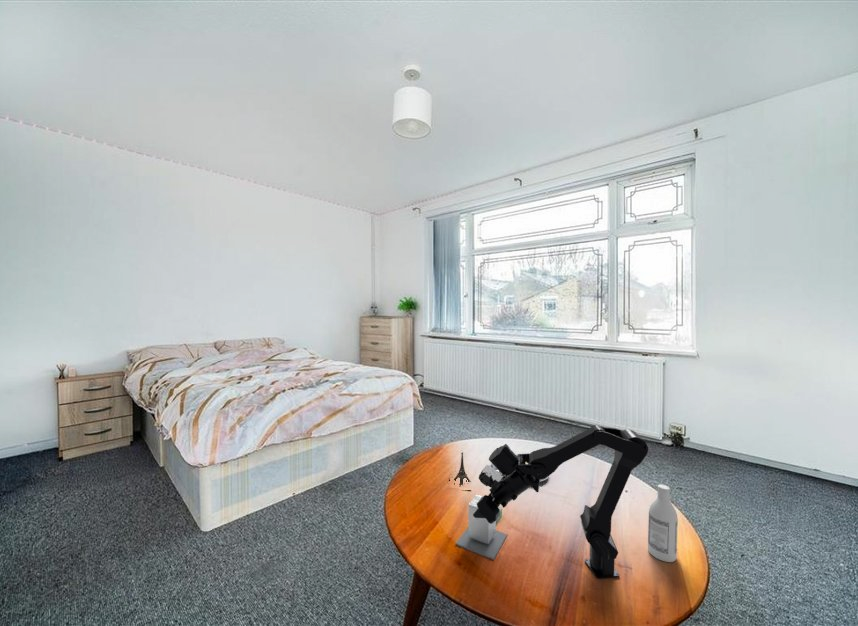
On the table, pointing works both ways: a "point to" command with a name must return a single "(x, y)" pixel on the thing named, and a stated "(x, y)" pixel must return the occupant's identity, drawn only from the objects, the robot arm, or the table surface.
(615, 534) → the table surface
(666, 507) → the bath foam
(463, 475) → the eiffel tower figurine
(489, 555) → the rubber mat
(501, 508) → the pale green block
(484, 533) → the silver grey block
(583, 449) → the robot arm
